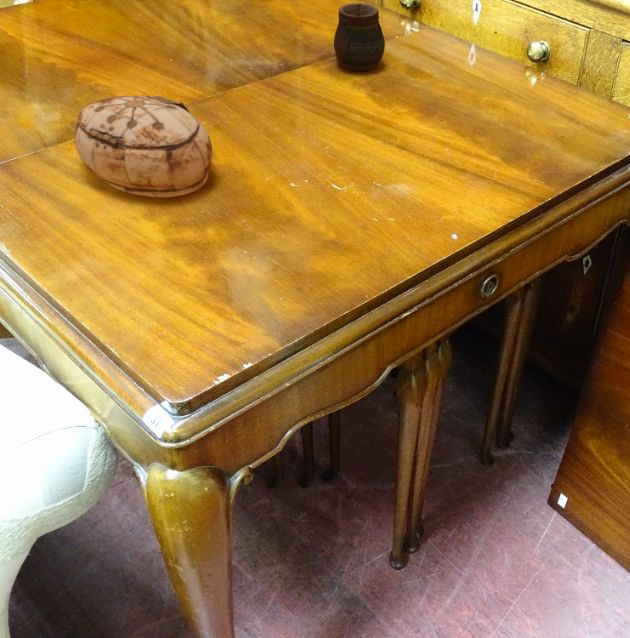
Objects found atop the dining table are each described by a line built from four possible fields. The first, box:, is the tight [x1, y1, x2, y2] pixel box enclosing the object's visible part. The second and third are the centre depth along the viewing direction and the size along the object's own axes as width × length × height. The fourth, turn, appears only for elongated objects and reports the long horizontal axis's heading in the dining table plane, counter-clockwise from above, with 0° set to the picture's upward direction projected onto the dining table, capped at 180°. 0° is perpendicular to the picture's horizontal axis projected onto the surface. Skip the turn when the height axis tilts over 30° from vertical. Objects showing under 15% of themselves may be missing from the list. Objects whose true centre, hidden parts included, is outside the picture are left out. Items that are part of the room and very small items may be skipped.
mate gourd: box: [333, 2, 386, 72], centre depth 108 cm, size 7×8×10 cm
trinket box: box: [74, 95, 213, 198], centre depth 83 cm, size 13×15×8 cm
